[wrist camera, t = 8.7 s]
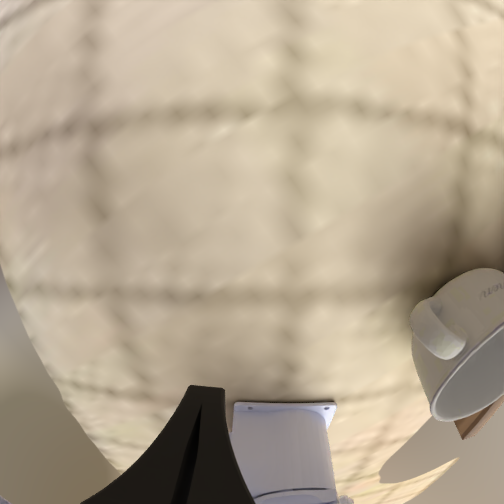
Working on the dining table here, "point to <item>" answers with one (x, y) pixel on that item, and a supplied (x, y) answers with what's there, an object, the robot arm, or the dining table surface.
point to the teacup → (461, 344)
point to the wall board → (477, 419)
